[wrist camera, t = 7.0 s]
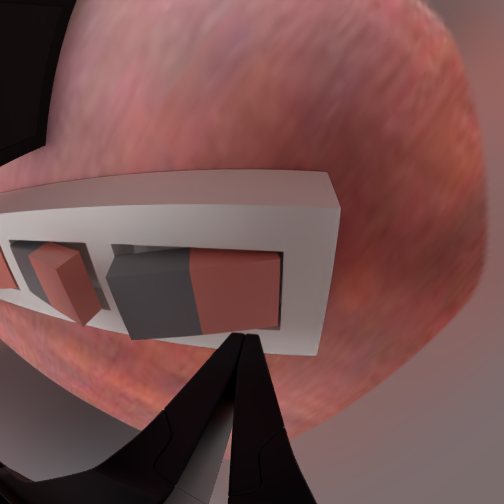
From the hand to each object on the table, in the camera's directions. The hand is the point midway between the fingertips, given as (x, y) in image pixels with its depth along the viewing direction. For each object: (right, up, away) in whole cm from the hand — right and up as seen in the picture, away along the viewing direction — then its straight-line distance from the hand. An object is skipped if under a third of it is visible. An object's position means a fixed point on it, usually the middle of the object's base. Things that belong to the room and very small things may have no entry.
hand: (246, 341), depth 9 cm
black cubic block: (-13, +14, +1) cm, 19 cm away
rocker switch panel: (-11, +4, +7) cm, 13 cm away
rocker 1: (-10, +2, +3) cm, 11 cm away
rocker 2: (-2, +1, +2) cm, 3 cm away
